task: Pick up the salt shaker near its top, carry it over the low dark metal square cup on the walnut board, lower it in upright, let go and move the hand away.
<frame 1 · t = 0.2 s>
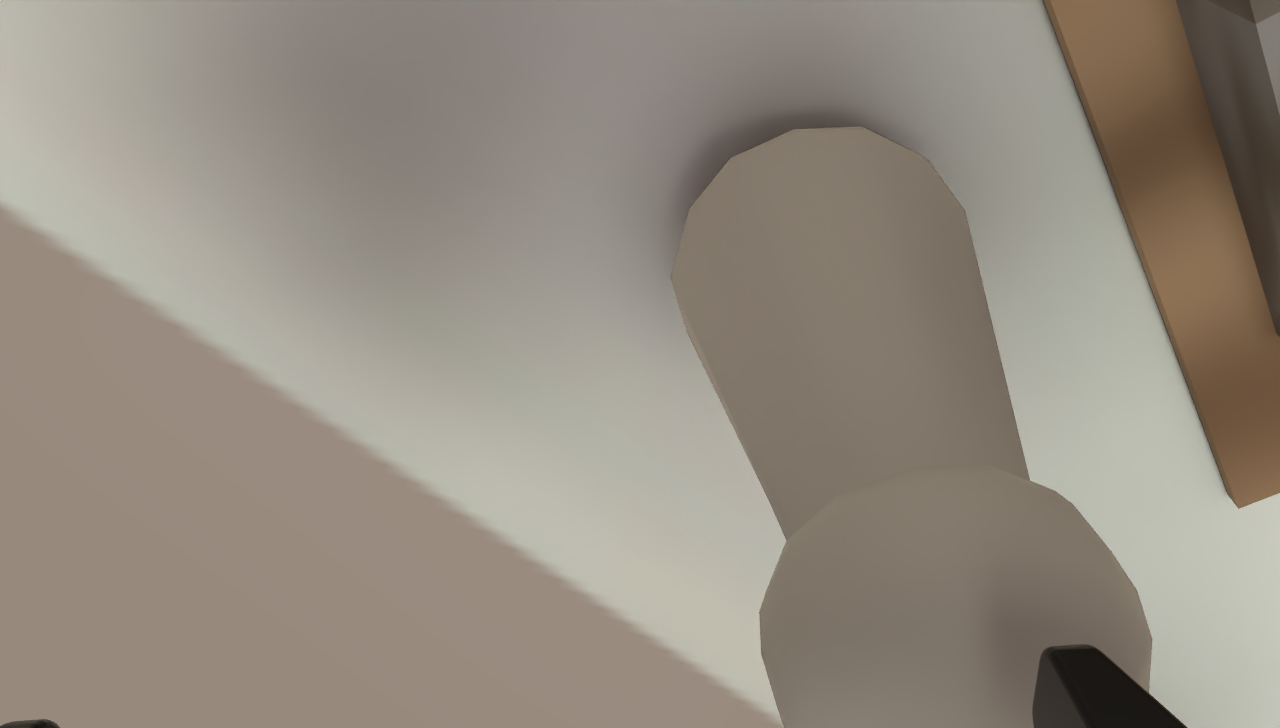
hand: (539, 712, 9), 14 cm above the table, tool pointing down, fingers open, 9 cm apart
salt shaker: (801, 216, 21), on the table
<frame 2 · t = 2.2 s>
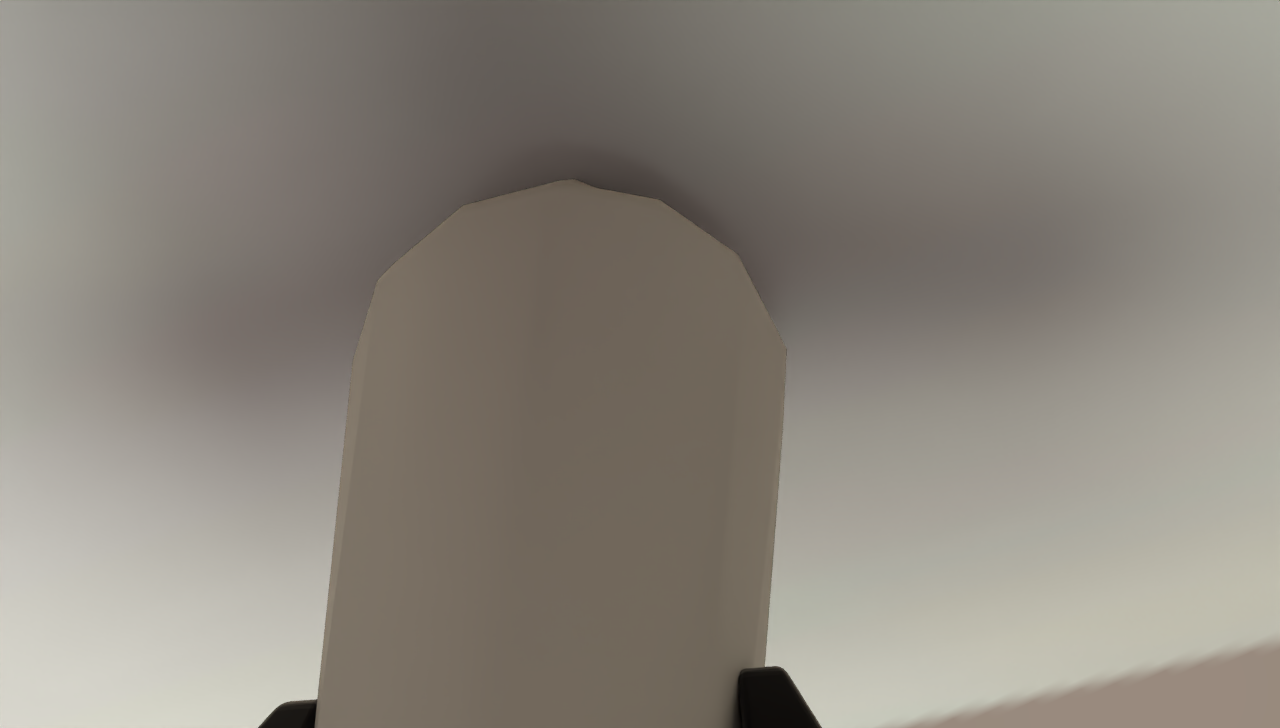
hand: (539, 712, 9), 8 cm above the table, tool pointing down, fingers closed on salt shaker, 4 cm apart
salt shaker: (583, 300, 15), on the table, touching gripper
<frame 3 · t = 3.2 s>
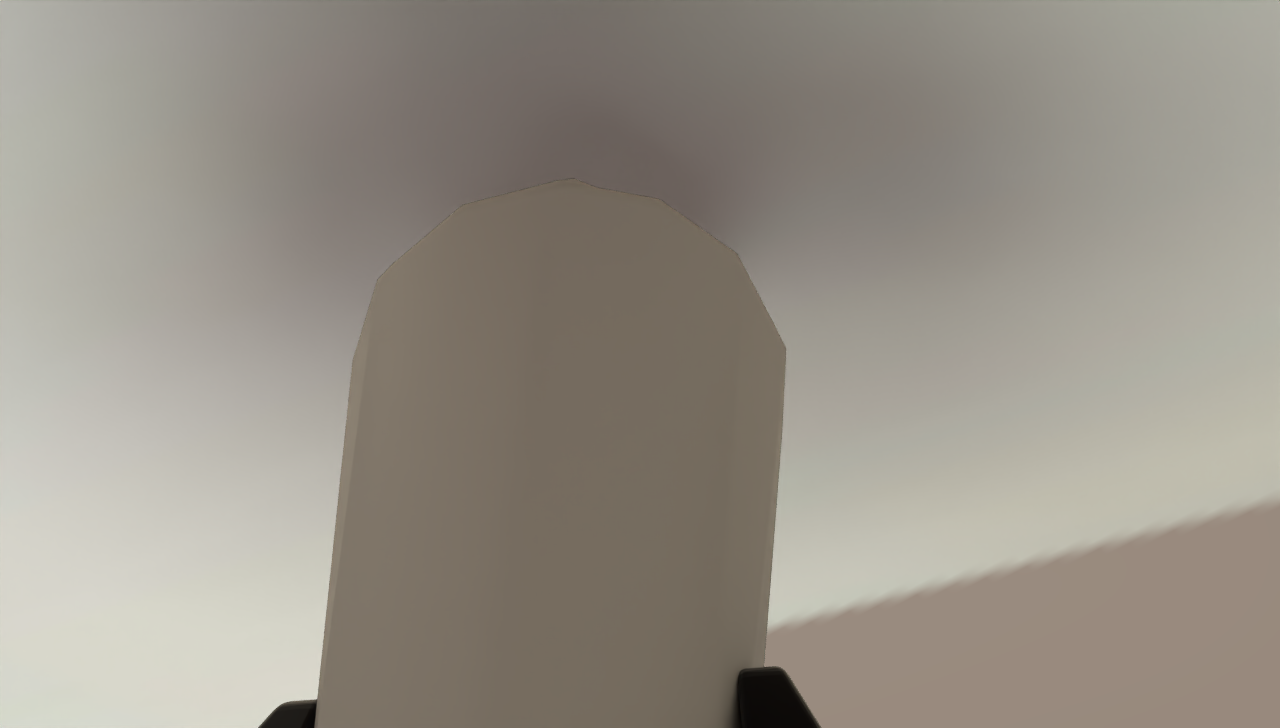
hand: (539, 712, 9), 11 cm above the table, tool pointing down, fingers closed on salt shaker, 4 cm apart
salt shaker: (583, 299, 15), point 3 cm above the table, touching gripper
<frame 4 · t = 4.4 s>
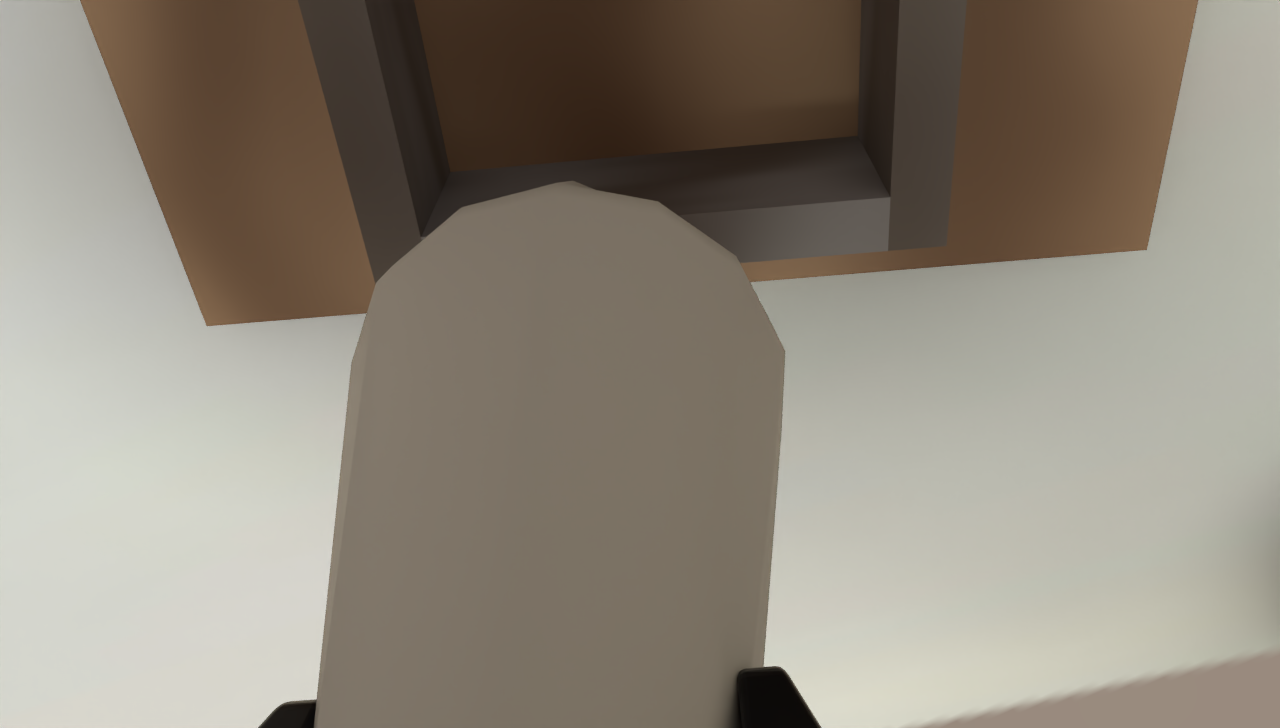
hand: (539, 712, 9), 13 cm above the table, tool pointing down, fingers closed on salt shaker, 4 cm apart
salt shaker: (581, 301, 15), point 5 cm above the table, touching gripper
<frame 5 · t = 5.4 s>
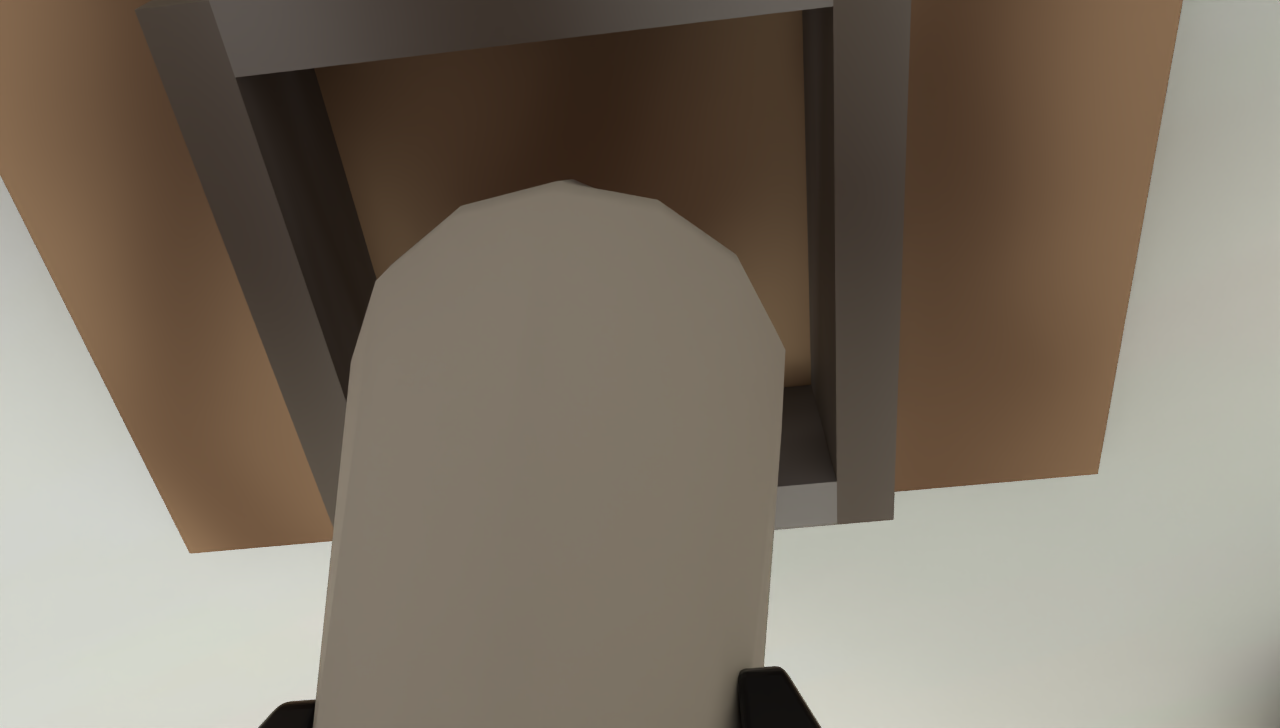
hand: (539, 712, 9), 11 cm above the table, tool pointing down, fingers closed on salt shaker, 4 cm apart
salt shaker: (581, 300, 15), point 3 cm above the table, touching gripper
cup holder: (585, 211, 18), on the table
when the fingers open (9 cm above the table, at t = 6.5 s): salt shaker stays where it is, resting on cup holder.
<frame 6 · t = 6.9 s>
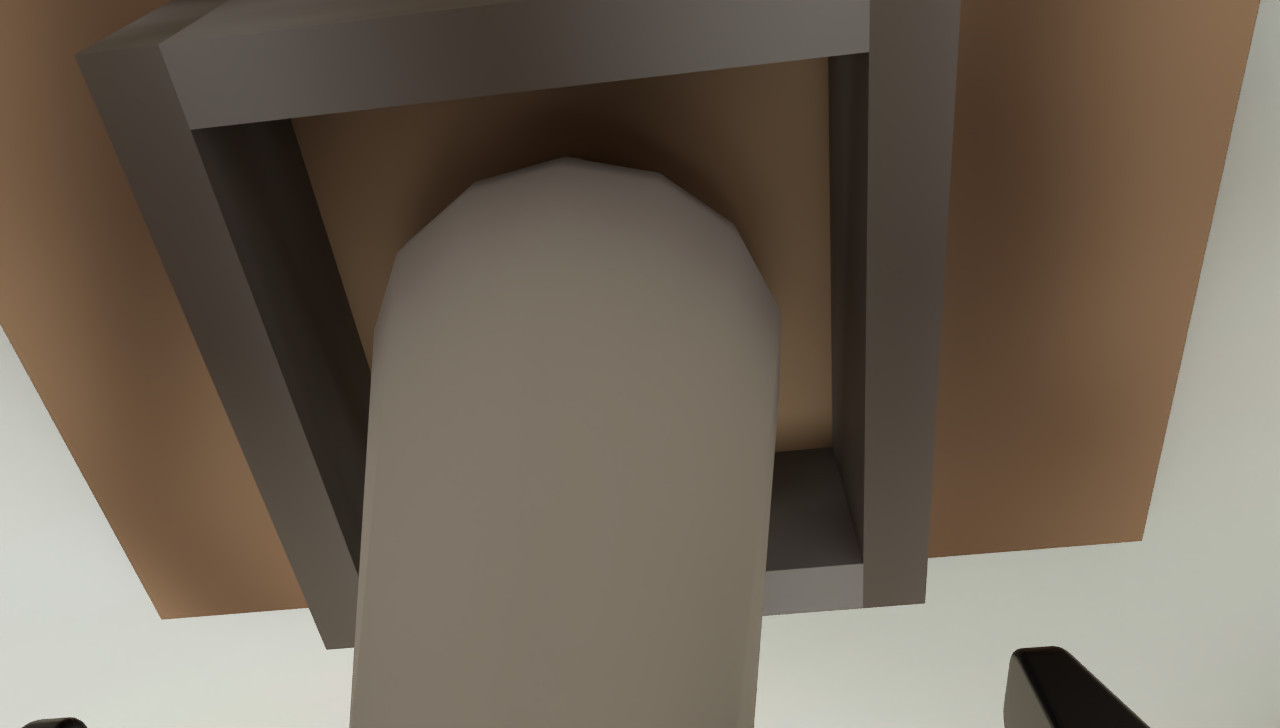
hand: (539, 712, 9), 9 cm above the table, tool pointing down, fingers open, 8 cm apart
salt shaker: (588, 274, 16), resting on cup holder
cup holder: (586, 262, 16), on the table
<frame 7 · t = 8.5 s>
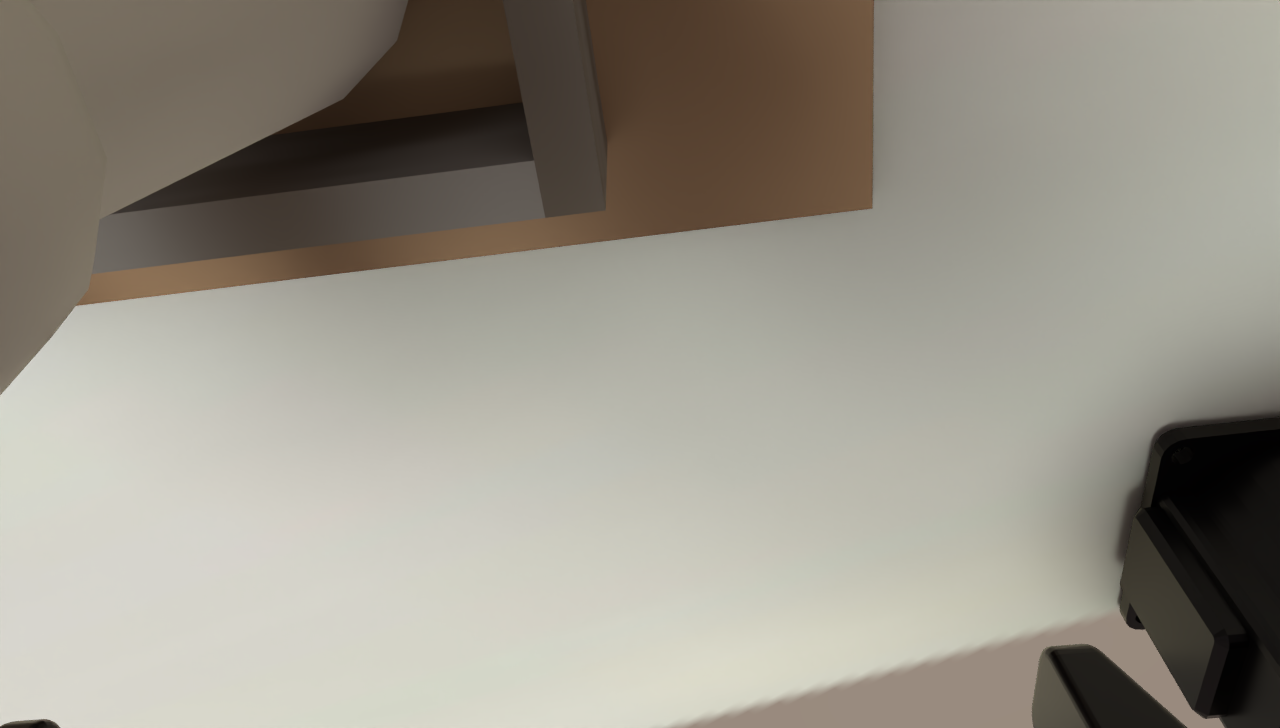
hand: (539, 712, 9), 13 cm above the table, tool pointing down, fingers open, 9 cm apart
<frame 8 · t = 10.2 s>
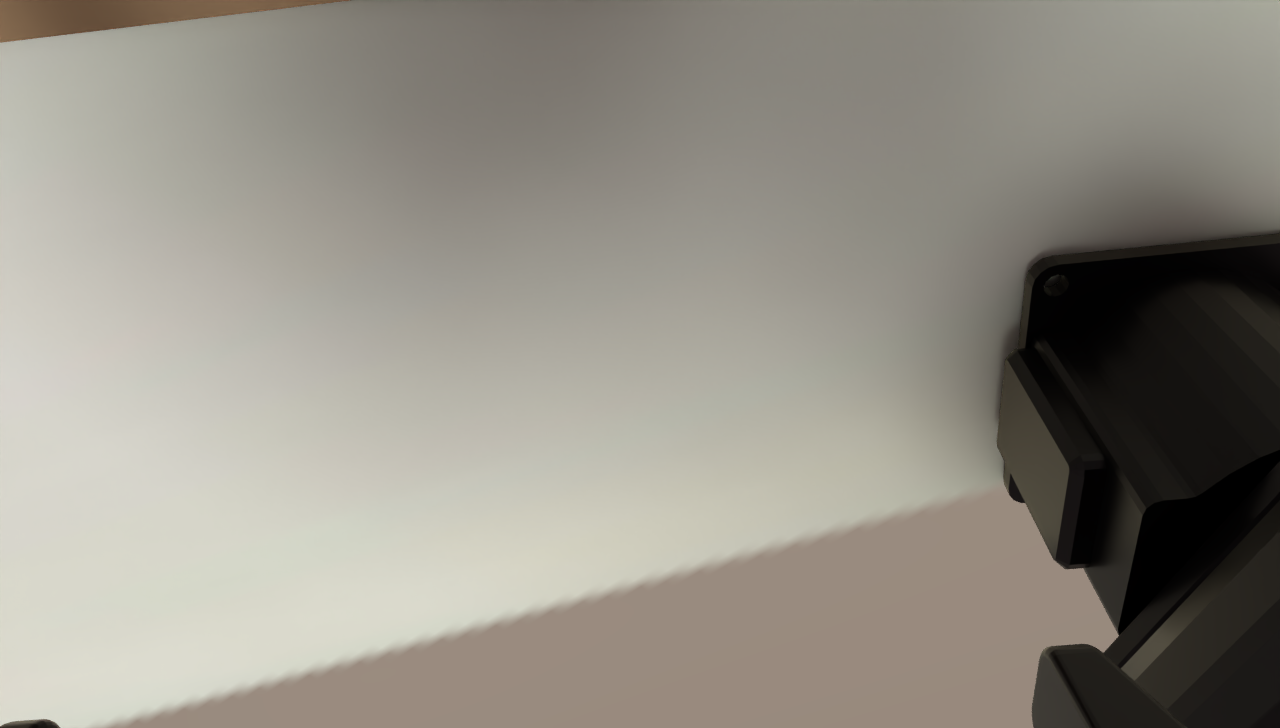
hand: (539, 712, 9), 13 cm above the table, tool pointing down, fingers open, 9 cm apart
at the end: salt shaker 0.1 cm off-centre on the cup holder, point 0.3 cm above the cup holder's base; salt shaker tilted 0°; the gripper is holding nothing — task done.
